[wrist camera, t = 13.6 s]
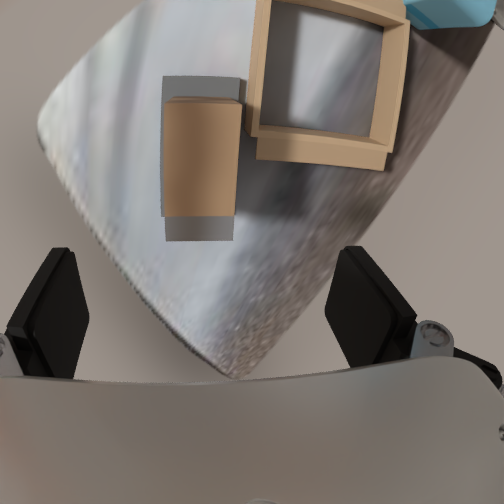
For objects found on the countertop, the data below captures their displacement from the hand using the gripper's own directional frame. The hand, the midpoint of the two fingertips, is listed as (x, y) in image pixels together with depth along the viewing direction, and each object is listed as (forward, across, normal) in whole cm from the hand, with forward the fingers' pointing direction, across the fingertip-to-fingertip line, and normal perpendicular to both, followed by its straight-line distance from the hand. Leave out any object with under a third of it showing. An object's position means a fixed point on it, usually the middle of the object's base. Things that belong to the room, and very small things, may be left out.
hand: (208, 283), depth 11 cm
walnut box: (+21, 0, 0) cm, 21 cm away
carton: (+22, -11, -9) cm, 26 cm away
